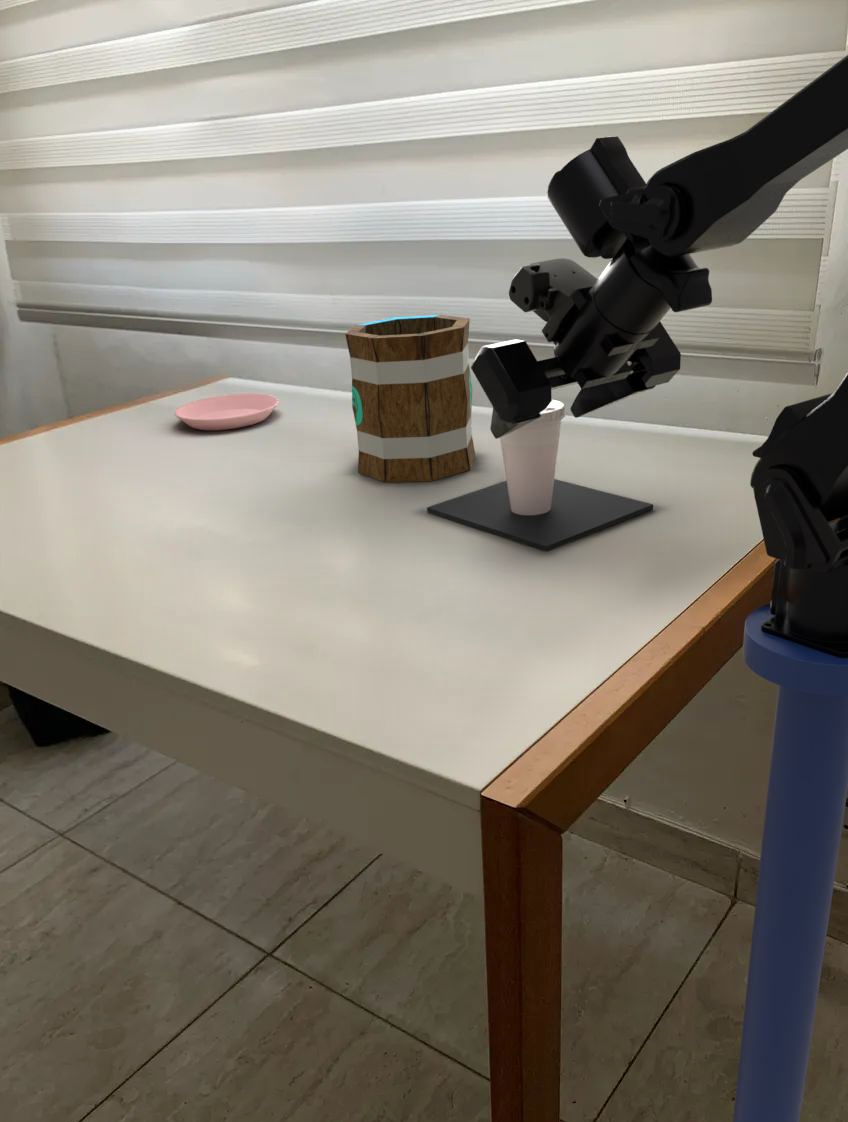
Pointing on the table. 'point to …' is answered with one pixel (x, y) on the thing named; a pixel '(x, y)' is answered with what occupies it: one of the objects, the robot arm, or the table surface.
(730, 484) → the table surface
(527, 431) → the smoothie
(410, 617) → the table surface
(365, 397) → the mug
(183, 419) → the plate
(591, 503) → the mat
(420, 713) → the table surface
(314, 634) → the table surface
